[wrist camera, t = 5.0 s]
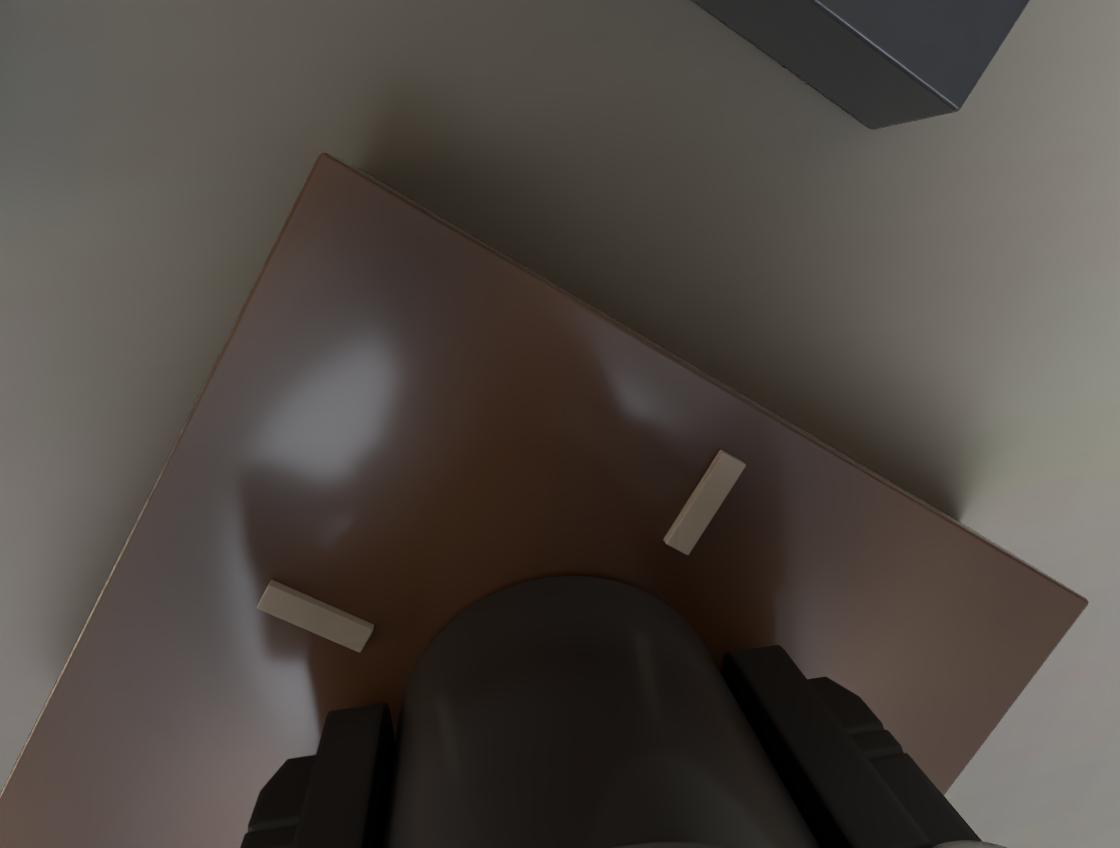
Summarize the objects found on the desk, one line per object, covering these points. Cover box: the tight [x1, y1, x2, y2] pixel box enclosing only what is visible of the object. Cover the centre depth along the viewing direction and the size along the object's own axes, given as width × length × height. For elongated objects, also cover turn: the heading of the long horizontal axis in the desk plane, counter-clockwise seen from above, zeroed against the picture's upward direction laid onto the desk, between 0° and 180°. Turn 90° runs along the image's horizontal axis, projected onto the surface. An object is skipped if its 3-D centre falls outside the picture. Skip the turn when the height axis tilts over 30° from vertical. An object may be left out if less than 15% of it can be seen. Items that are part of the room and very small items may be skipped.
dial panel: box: [0, 152, 1088, 848], centre depth 12 cm, size 12×10×3 cm
